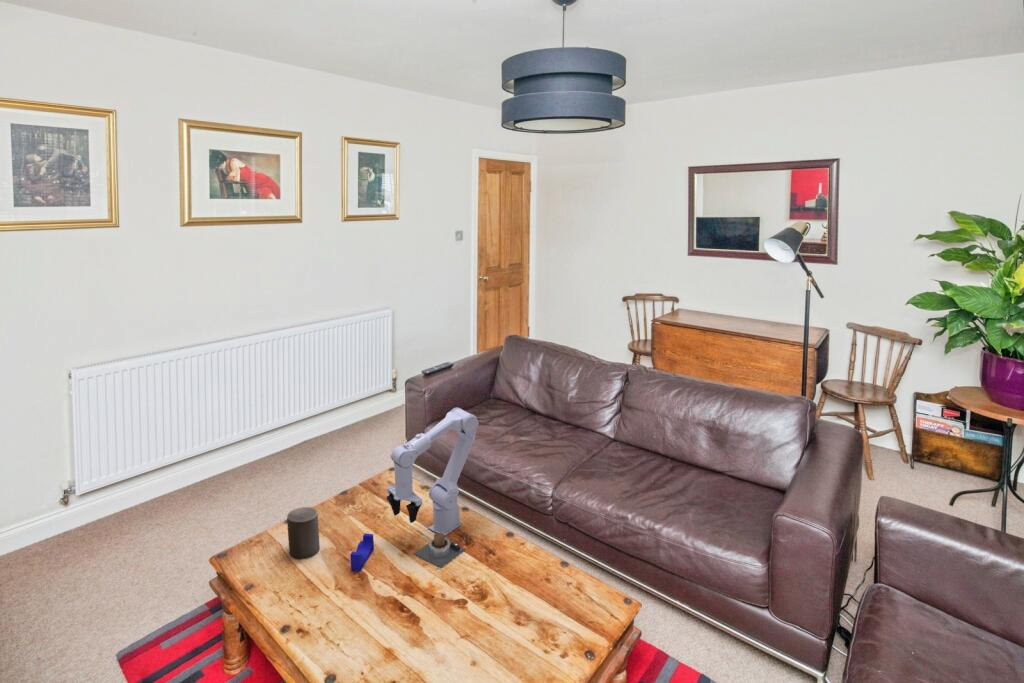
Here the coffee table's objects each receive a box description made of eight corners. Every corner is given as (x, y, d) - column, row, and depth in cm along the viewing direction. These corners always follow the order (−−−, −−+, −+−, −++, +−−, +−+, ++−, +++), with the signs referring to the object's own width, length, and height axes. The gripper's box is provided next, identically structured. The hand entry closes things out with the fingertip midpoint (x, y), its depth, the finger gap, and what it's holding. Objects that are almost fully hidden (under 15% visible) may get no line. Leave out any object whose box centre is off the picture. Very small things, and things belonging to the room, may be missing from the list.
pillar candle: (291, 562, 191) (288, 521, 188) (287, 546, 200) (284, 506, 196) (322, 554, 196) (320, 514, 192) (317, 539, 204) (315, 500, 200)
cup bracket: (438, 538, 206) (438, 529, 205) (464, 550, 199) (464, 541, 198) (414, 554, 196) (413, 545, 195) (441, 568, 190) (440, 558, 189)
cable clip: (361, 548, 200) (360, 532, 198) (373, 549, 199) (373, 534, 197) (346, 570, 188) (345, 553, 187) (360, 571, 187) (359, 555, 186)
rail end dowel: (440, 547, 200) (439, 531, 198) (447, 551, 198) (446, 535, 196) (432, 551, 197) (431, 535, 196) (439, 555, 195) (438, 539, 193)
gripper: (379, 479, 197) (381, 515, 201) (410, 492, 189) (411, 530, 193) (395, 471, 203) (396, 507, 206) (425, 484, 195) (426, 520, 198)
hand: (404, 517), depth 200 cm, fingers open, 7 cm apart
